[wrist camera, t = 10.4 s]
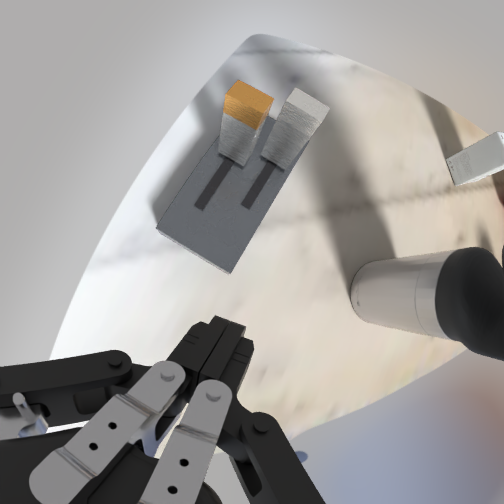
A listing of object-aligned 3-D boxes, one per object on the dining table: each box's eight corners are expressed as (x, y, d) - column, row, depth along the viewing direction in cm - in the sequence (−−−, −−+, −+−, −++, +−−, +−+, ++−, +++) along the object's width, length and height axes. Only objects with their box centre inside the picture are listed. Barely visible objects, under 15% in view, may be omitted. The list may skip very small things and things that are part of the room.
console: (241, 116, 39) (246, 100, 35) (301, 151, 40) (311, 138, 36) (160, 233, 36) (155, 227, 32) (227, 274, 37) (230, 273, 33)
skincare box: (454, 187, 45) (510, 164, 31) (444, 157, 46) (497, 130, 31) (474, 182, 47) (525, 162, 32) (465, 155, 47) (513, 131, 32)
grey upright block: (268, 143, 35) (295, 87, 23) (292, 158, 35) (330, 108, 23) (260, 154, 34) (285, 100, 23) (285, 170, 35) (321, 122, 23)
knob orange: (226, 139, 34) (238, 79, 22) (251, 153, 34) (274, 98, 22) (217, 151, 34) (225, 93, 22) (243, 166, 34) (262, 113, 22)
